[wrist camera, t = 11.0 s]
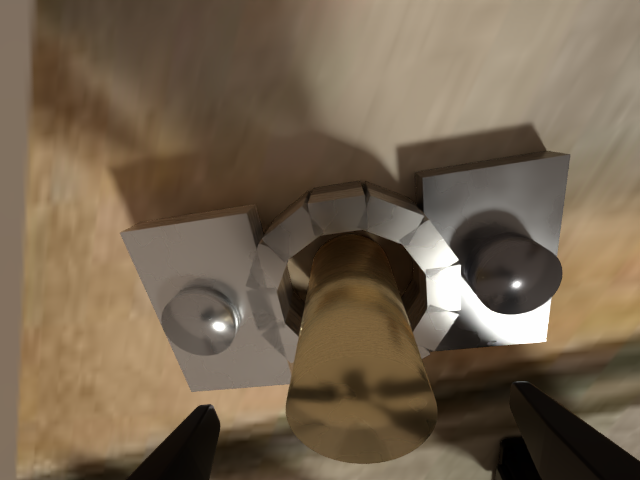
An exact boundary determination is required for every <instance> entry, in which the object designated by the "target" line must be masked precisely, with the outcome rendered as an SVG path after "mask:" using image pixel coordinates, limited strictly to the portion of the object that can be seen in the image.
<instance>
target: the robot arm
mask: <svg viewBox="0 0 640 480" xmlns="http://www.w3.org/2000/svg"><path fill="white" fill-rule="evenodd" d="M510 408H511V411H512V413H513V416H514V418H515V420H516V423H517V425H518V427H519V429H520V432H521V434H522V436H523V438H513V439H505V440H503V441H501V443H500V454H499V464H498V466H497V468H496V480H640V461H639V460H637V459H636V458H635V457H633V456H632V455H630V454H629V453H628V452H626V451H625V450H623V449H622V448H621V447H619V446H618V445H616V444H615V443H614V442H612V441H611V440H610V439H608V438H607V437H605V436H604V435H603V434H601V433H600V432H598V431H597V430H596V429H594V428H593V427H591V426H590V425H589V424H587V423H586V422H584V421H583V420H582V419H580V418H579V417H577V416H576V415H575V414H573V413H572V412H571V411H569V410H568V409H566V408H565V407H564V406H562V405H561V404H559V403H558V402H557V401H555V400H554V399H552V398H551V397H550V396H548V395H547V394H545V393H544V392H543V391H541V390H540V389H538V388H537V387H536V386H534V385H533V384H531V383H530V382H527V381H520V382H513V383H512V384H511V391H510ZM219 432H220V421H219V418H218V416H217V414H216V411H215V409H214V407H213V405H211V404H207V405H200V406H198V407H197V408H196V409H195V410H194V411H193V412H192V413H191V414H190V415H189V416H188V417H187V418H186V419H185V420H184V421H183V422H182V423H181V424H180V425H179V426H178V427H177V428H176V429H175V430H174V431H173V432H172V433H171V434H170V435H169V436H168V437H167V438H166V439H165V440H164V441H163V442H162V443H161V444H160V445H159V446H158V447H157V448H156V449H155V450H154V451H153V452H152V453H151V454H150V455H149V456H148V457H147V458H146V459H145V460H144V461H143V462H142V463H141V464H140V465H139V466H138V467H137V469H136V470H135V471H134V472H133V473H132V474H131V475H130V476H129V477H128V478H127V479H126V480H209V478H210V474H211V469H212V464H213V460H214V455H215V451H216V446H217V441H218V437H219Z"/></svg>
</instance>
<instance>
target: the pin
mask: <svg viewBox="0 0 640 480" xmlns="http://www.w3.org/2000/svg"><path fill="white" fill-rule="evenodd" d="M437 413H438V410H437V403H436V400H435V397H434V394H433V391H432V388H431V385H430V382H429V379H428V376H427V373H426V370H425V367H424V364H423V361H422V358H421V355H420V352H419V350H418V347H417V344H416V341H415V338H414V335H413V332H412V329H411V326H410V323H409V320H408V317H407V314H406V311H405V308H404V305H403V302H402V299H401V296H400V293H399V290H398V287H397V285H396V282H395V279H394V276H393V273H392V270H391V267H390V264H389V261H388V258H387V256H386V254H385V252H384V250H383V249H382V248H381V247H380V246H379V245H378V244H377V243H376V242H374V241H373V240H371V239H369V238H367V237H364V236H361V235H353V234H349V235H341V236H338V237H335V238H333V239H331V240H329V241H327V242H326V243H325V244H324V245H322V246H321V248H320V249H319V250H318V251H317V253H316V255H315V257H314V260H313V264H312V269H311V274H310V280H309V285H308V290H307V296H306V301H305V306H304V311H303V317H302V322H301V327H300V333H299V338H298V343H297V348H296V354H295V359H294V364H293V370H292V375H291V380H290V386H289V391H288V396H287V402H286V416H287V420H288V423H289V425H290V428H291V429H292V431H293V433H294V434H295V435H296V436H297V438H298V439H299V440H300V441H301V442H302V443H303V444H305V445H306V446H307V447H309V448H310V449H312V450H313V451H315V452H317V453H319V454H321V455H323V456H325V457H328V458H331V459H334V460H338V461H342V462H348V463H358V464H370V463H380V462H385V461H389V460H393V459H396V458H399V457H402V456H404V455H406V454H408V453H410V452H412V451H413V450H415V449H416V448H418V447H419V446H420V445H421V444H423V443H424V442H425V440H426V439H427V438H428V437H429V436H430V434H431V433H432V431H433V429H434V427H435V425H436V421H437Z"/></svg>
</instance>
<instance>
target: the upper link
mask: <svg viewBox="0 0 640 480" xmlns="http://www.w3.org/2000/svg"><path fill="white" fill-rule="evenodd" d="M357 230H365V231H367V232H370V233H373V234H375V235H378V236H381V237H384V238H386V239H389V240H392V241H394V242H397V243H400V244H402V245H403V246H404V247H405V248H406V250H407V251H408V252H409V253H410V255H411V256H412V257H413V259H414V260H415V261H416V262H417V264H418V269H419V287H420V292H419V294H418V296H417V297H416V299H415V301H414V302H413V304H412V306H411V307H410V309H409V311H408V313H407V317H408V320H409V323H410V326H411V329H412V332H413V335H414V338H415V341H416V344H417V347H418V350H419V352H420V355H421V358H422V359H423V358H424V357H426V356H428V355H430V351H429V349H430V350H433V351H435V349H436V348H437V346H438V345H439V343H440V342H441V340H442V339H443V337H444V336H445V334H446V333H447V331H448V330H449V329H450V327H451V326H452V324H453V323H454V321H455V320H456V318H457V317H458V315H459V314H458V312H457V311H456V310H460V264H459V263H458V258H457V257H456V256H455V254H454V253H453V251H452V250H451V249H450V247H449V246H448V245H447V243H446V242H445V241H444V239H443V238H442V237H441V235H440V234H439V232H438V231H437V230H436V228H435V227H434V226H433V224H432V223H431V222H430V220H429V219H428V218H427V217H426V216H425V214H424V213H423V212H422V211H421V210H419V209H418V208H417V207H416V206H414V205H412V204H409V203H406V202H404V201H401V200H399V199H396V198H393V197H391V196H388V195H385V194H383V193H380V192H378V191H375V190H372V189H370V188H368V189H367V191H366V193H365V195H364V192H363V189H362V187H360V188H354V189H348V190H341V191H335V192H328V193H322V194H316V195H311V196H310V199H309V201H308V200H307V199H306V198H305V199H303V200H302V201H301V202H300V203H298V204H297V205H296V206H295V207H294V208H292V209H291V210H290V211H289V212H287V213H286V214H285V215H284V216H283V217H281V218H280V219H279V220H278V221H276V222H275V223H274V224H273V225H272V226H270V227H269V229H268V230H267V232H266V233H265V234H263V230H262V226H261V222H260V218H259V215H258V211H257V207H256V204H252V205H246V206H239V207H233V208H227V209H220V210H214V211H208V212H201V213H195V214H189V215H182V216H176V217H169V218H163V219H157V220H150V221H144V222H139V223H137V224H136V225H134V226H132V227H130V228H128V229H126V230H124V231H122V232H120V234H121V236H122V239H123V241H124V243H125V245H126V248H127V250H128V252H129V254H130V256H131V259H132V261H133V263H134V265H135V268H136V270H137V272H138V274H139V276H140V279H141V281H142V283H143V285H144V287H145V290H146V292H147V294H148V296H149V299H150V301H151V303H152V305H153V307H154V310H155V312H156V314H157V316H158V319H159V321H160V323H161V325H162V327H163V330H164V332H165V334H166V336H167V338H168V341H169V343H170V345H171V347H172V350H173V352H174V354H175V356H176V358H177V361H178V363H179V365H180V367H181V370H182V372H183V374H184V376H185V378H186V381H187V383H188V385H189V387H190V390H191V392H196V391H209V390H221V389H234V388H247V387H260V386H272V385H285V384H290V380H291V375H292V370H293V364H294V359H295V354H296V348H297V343H298V338H299V333H300V327H301V322H302V318H301V317H300V316H299V315H298V314H297V313H296V312H295V311H294V310H293V309H292V308H291V307H290V306H289V302H288V298H287V294H286V290H285V286H284V282H283V278H282V276H283V273H284V270H285V268H286V265H287V262H288V259H290V258H291V257H292V256H294V255H295V254H296V253H298V252H299V251H300V250H302V249H303V248H304V247H306V246H307V245H308V244H309V243H311V242H312V241H313V240H315V239H316V238H317V237H319V236H321V235H328V234H335V233H343V232H350V231H357Z"/></svg>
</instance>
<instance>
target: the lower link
mask: <svg viewBox="0 0 640 480" xmlns="http://www.w3.org/2000/svg"><path fill="white" fill-rule="evenodd" d="M569 161H570V154H564V153H558V152H552V151H543V152H537V153H531V154H525V155H518V156H512V157H506V158H500V159H493V160H487V161H481V162H475V163H468V164H462V165H456V166H450V167H443V168H437V169H431V170H425V171H418V172H415V187H416V204H415V203H414V202H413V201H411V200H410V199H409V198H407V197H405V196H402V195H400V194H397V193H394V192H392V191H389V190H387V189H384V188H381V187H379V186H376V185H374V184H371V183H368V182H366V181H365V183H364V186H363V188H362V189H363V192H364V195H365V193H366V191H367V189H368V188H370V189H372V190H375V191H378V192H380V193H383V194H385V195H388V196H391V197H393V198H396V199H399V200H401V201H404V202H406V203H409V204H412V205H414V206H416V207H417V208H418V209H419V210H421V211H422V212H423V213H424V214H425V216H426V217H427V218H428V219H429V220H430V222H431V223H432V224H433V226H434V227H435V228H436V230H437V231H438V232H439V234H440V235H441V237H442V238H443V239H444V241H445V242H446V243H447V245H448V246H449V247H450V249H451V250H452V251H453V253H454V254H455V256H456V257H457V258H458V263H459V264H460V310H456V311H457V312H458V314H459V315H458V317H457V318H456V320H455V321H454V323H453V324H452V326H451V327H450V329H449V330H448V331H447V333H446V334H445V336H444V337H443V339H442V340H441V342H440V343H439V345H438V346H437V348H436V349H435V351H443V350H455V349H466V348H478V347H489V346H501V345H512V344H524V343H535V342H546V335H547V327H548V320H549V312H550V305H551V297H552V296H553V295H554V294H555V293H556V291H557V289H558V288H559V286H560V283H561V280H562V266H561V263H560V261H559V259H558V258H557V252H558V244H559V237H560V229H561V221H562V214H563V206H564V199H565V191H566V184H567V176H568V169H569ZM360 187H362V185H361V182H360V181H356V182H350V183H343V184H337V185H331V186H325V187H318V188H313V191H312V194H311V192H310V191H307V192H306V193H305V194H304V195H303V196H301V197H300V198H299V199H298V200H297V201H295V202H294V203H293V204H292V205H290V206H289V207H288V208H287V209H286V210H284V211H283V212H282V213H281V214H280V215H278V216H277V217H276V218H275V219H274V221H273V222H272V224H271V225H270V226H272V225H273V224H274V223H275V222H276V221H278V220H279V219H280V218H281V217H283V216H284V215H285V214H286V213H287V212H289V211H290V210H291V209H292V208H294V207H295V206H296V205H297V204H298V203H300V202H301V201H302V200H303V199H305V198H306V199H307V200H308V201H309V199H310V196H311V195H316V194H322V193H328V192H335V191H341V190H348V189H354V188H360ZM268 229H269V228H268ZM266 232H267V231H266ZM412 266H413V279H412V281H411V282H410V284H409V286H408V288H407V289H406V291H405V293H404V295H403V297H402V298H401V299H402V302H403V305H404V308H405V311H406V314H407V313H408V311H409V309H410V307H411V306H412V304H413V302H414V301H415V299H416V297H417V296H418V294H419V292H420V287H419V269H418V264H417V262H416V261H415V260H414V259H413V257H412ZM282 278H283V282H284V286H285V290H286V294H287V298H288V302H289V306H290V307H291V308H292V309H293V310H294V311H295V312H296V313H297V314H298V315H299V316H300V317H301V318H302V317H303V311H304V306H305V303H304V302H303V301H302V300H301V299H300V298H299V297H298V296H297V295H296V294H295V293H294V291H293V287H292V283H291V279H290V275H289V270H288V266H287V265H286V268H285V270H284V273H283V276H282ZM432 351H433V350H430V352H432Z"/></svg>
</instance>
